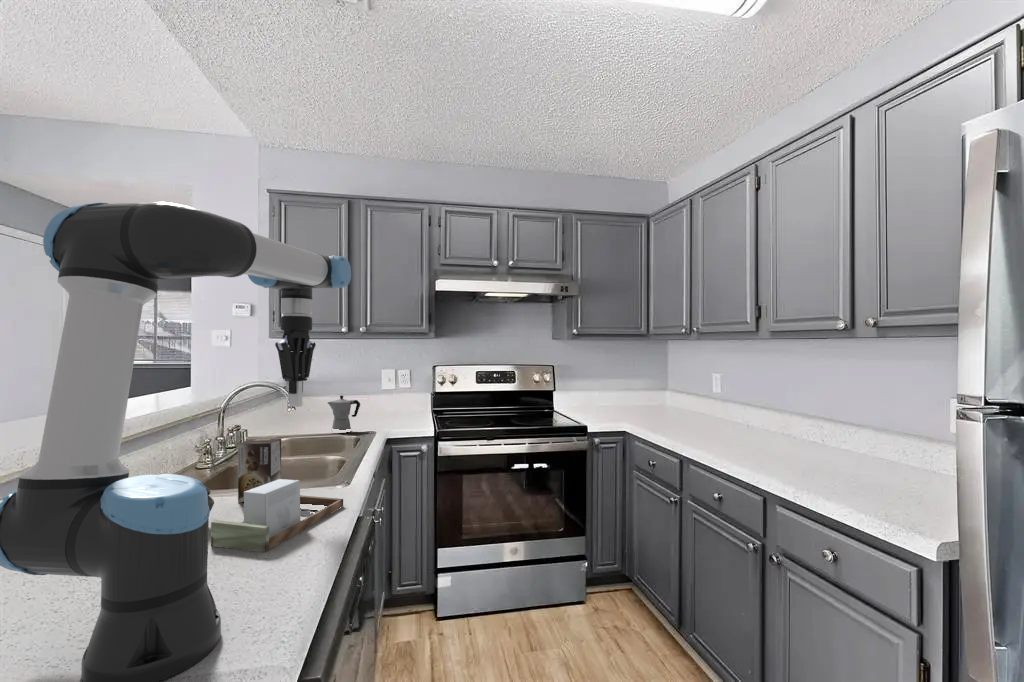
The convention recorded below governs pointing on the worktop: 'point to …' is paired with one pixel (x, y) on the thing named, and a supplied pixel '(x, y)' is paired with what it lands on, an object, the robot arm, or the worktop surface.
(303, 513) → the trap pits
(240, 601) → the worktop surface
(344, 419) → the coffeepot
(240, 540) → the track
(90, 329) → the robot arm
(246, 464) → the coffee box
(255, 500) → the skincare box
